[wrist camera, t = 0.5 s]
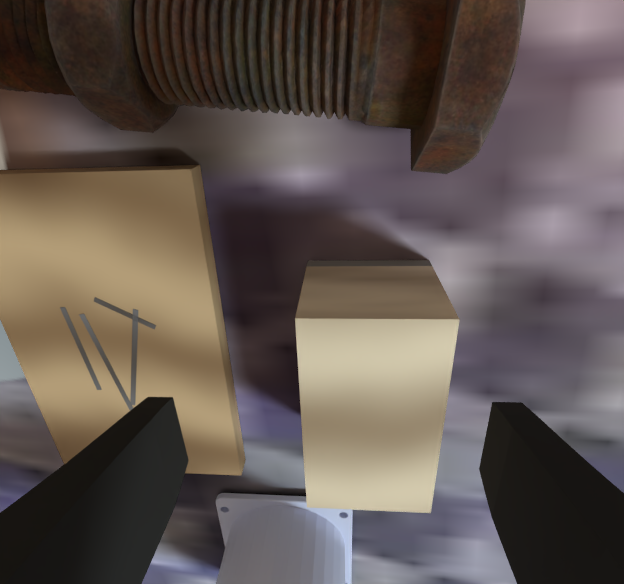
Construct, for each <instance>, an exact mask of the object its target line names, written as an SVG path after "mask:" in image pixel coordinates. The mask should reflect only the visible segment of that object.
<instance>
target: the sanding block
mask: <svg viewBox="0 0 624 584" xmlns="http://www.w3.org/2000/svg"><path fill="white" fill-rule="evenodd" d="M458 325H459V318H458V316H457V314H456V312H455V310H454V308H453V306H452V304H451V302H450V300H449V298H448V296H447V294H446V292H445V290H444V288H443V286H442V284H441V282H440V281H439V279H438V277H437V275H436V273H435V271H434V269H433V267H432V265H431V263H430V261H429V260H325V261H308V262H307V267H306V271H305V276H304V280H303V285H302V289H301V294H300V298H299V303H298V307H297V312H296V316H295V326H296V342H297V358H298V374H299V390H300V405H301V421H302V437H303V453H304V469H305V485H306V501H307V507H308V508H330V509H353V510H375V511H397V512H419V513H431V507H432V500H433V493H434V487H435V480H436V473H437V467H438V460H439V453H440V446H441V440H442V433H443V426H444V420H445V413H446V406H447V399H448V393H449V386H450V379H451V372H452V366H453V359H454V352H455V346H456V339H457V332H458Z"/></svg>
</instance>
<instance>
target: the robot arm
mask: <svg viewBox="0 0 624 584" xmlns="http://www.w3.org/2000/svg"><path fill="white" fill-rule="evenodd" d="M188 461H189V459H188V455H187V451H186V447H185V443H184V439H183V435H182V431H181V427H180V423H179V419H178V415H177V411H176V407H175V403H174V399H173V397H147V398H146V399H144V400H143V401H142V402H140V403H139V404H138V405H137V406H135V407H134V408H133V409H132V410H130V411H129V412H128V413H127V414H126V415H124V416H123V417H122V418H121V419H119V420H118V421H117V422H116V423H115V424H113V425H112V426H111V427H110V428H109V429H107V430H106V431H105V432H104V433H103V434H101V435H100V436H99V437H98V438H96V439H95V440H94V441H93V442H91V443H90V444H89V445H88V446H87V447H85V448H84V449H83V450H82V451H80V452H79V453H78V454H77V455H75V456H74V457H73V458H72V459H70V460H69V461H68V462H67V463H66V464H64V465H63V466H62V467H61V468H59V469H58V470H57V471H55V472H54V473H53V474H51V475H50V476H49V477H47V478H46V479H45V480H43V481H42V482H41V483H39V484H38V485H37V486H35V487H34V488H33V489H31V490H30V491H29V492H28V493H26V494H25V495H24V496H22V497H21V498H20V499H18V500H17V501H16V502H14V503H13V504H12V505H10V506H9V507H8V508H6V509H5V510H4V511H2V512H1V513H0V584H141V583H142V581H143V579H144V577H145V574H146V572H147V570H148V567H149V565H150V563H151V560H152V558H153V556H154V554H155V551H156V549H157V547H158V544H159V542H160V540H161V537H162V535H163V533H164V530H165V528H166V526H167V523H168V521H169V519H170V516H171V514H172V512H173V509H174V507H175V504H176V501H177V498H178V495H179V492H180V489H181V485H182V482H183V478H184V475H185V472H186V468H187V465H188ZM479 470H480V474H481V478H482V482H483V486H484V490H485V494H486V497H487V501H488V505H489V508H490V512H491V516H492V519H493V521H494V524H495V527H496V530H497V532H498V535H499V537H500V540H501V543H502V545H503V548H504V551H505V553H506V556H507V559H508V561H509V564H510V566H511V569H512V571H513V574H514V577H515V579H516V582H517V584H624V493H623V492H622V491H620V490H619V489H618V488H617V487H616V486H615V485H613V484H612V483H611V482H610V481H609V480H608V479H606V478H605V477H604V476H603V475H602V474H601V473H600V472H598V471H597V470H596V469H595V468H594V467H593V466H592V465H590V464H589V463H588V462H587V461H586V460H585V459H584V458H583V457H581V456H580V455H579V454H578V453H577V452H576V451H575V450H574V449H573V448H571V447H570V446H569V445H568V444H567V443H566V442H565V441H564V440H563V439H561V438H560V437H559V436H558V435H557V434H556V433H555V432H554V431H553V430H552V429H551V428H549V427H548V426H547V425H546V424H545V423H544V422H543V421H542V420H541V419H540V418H538V417H537V416H536V415H535V414H534V413H533V412H532V411H531V410H530V409H528V408H527V407H526V406H525V405H524V404H523V403H516V402H492V407H491V412H490V417H489V422H488V427H487V432H486V438H485V443H484V448H483V453H482V458H481V463H480V468H479ZM216 507H217V512H218V517H219V521H220V526H221V531H222V535H223V540H224V545H225V551H224V555H223V559H222V563H221V567H220V570H219V574H218V578H217V582H216V584H351V570H352V509H330V508H308V507H307V501H306V496H286V495H263V494H240V493H221V494H218V496H217V498H216Z"/></svg>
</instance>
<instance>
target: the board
mask: <svg viewBox="0 0 624 584" xmlns="http://www.w3.org/2000/svg"><path fill="white" fill-rule="evenodd" d="M0 320H1V322H2V324H3V327H4V329H5V331H6V333H7V335H8V338H9V340H10V342H11V345H12V347H13V349H14V352H15V354H16V356H17V358H18V361H19V363H20V365H21V367H22V369H23V372H24V374H25V376H26V379H27V381H28V383H29V386H30V388H31V390H32V392H33V395H34V397H35V399H36V401H37V404H38V406H39V408H40V410H41V413H42V415H43V417H44V419H45V422H46V424H47V426H48V429H49V431H50V433H51V435H52V438H53V440H54V442H55V444H56V447H57V449H58V451H59V453H60V456H61V458H62V460H63V463H64V464H66V463H67V462H68V461H69V460H70V459H72V458H73V457H74V456H75V455H77V454H78V453H79V452H80V451H82V450H83V449H84V448H85V447H87V446H88V445H89V444H90V443H91V442H93V441H94V440H95V439H96V438H98V437H99V436H100V435H101V434H103V433H104V432H105V431H106V430H107V429H109V428H110V427H111V426H112V425H113V424H115V423H116V422H117V421H118V420H119V419H121V418H122V417H123V416H124V415H126V414H127V413H128V412H129V411H130V410H132V409H133V408H134V407H135V406H137V405H138V404H139V403H140V402H142V401H143V400H144V399H146V398H147V397H173V399H174V403H175V407H176V411H177V415H178V419H179V423H180V427H181V431H182V435H183V439H184V443H185V447H186V451H187V455H188V459H189V461H188V465H187V468H186V472H185V473H192V474H217V475H242V471H243V468H244V464H245V454H244V447H243V441H242V434H241V428H240V421H239V415H238V408H237V402H236V395H235V389H234V382H233V376H232V369H231V363H230V357H229V350H228V344H227V337H226V331H225V324H224V318H223V311H222V305H221V298H220V292H219V285H218V279H217V272H216V266H215V259H214V253H213V246H212V240H211V233H210V227H209V220H208V214H207V207H206V201H205V194H204V188H203V181H202V175H201V169H200V165H177V166H138V167H99V168H61V169H22V170H0Z"/></svg>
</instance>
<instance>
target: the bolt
mask: <svg viewBox="0 0 624 584" xmlns="http://www.w3.org/2000/svg"><path fill="white" fill-rule="evenodd" d="M524 9H525V0H0V89H5V90H14V91H25V92H26V91H34V92H41V93H42V92H43V93H53V94H66V95H74V96H76V97H77V98H78V99H79V100H80V102H81V103H82V104H83V105H84V106H85V107H86V108H88V109H89V110H90V111H92V112H93V113H94V114H96V115H97V116H98V117H100V118H101V119H103V120H104V121H106V122H108V123H110V124H112V125H113V126H115V127H117V128H119V129H121V130H130V131H141V132H152V133H153V132H155V131H156V130H157V129H158V128H160V127H161V126H162V125H164V124H165V123H166V122H167V121H168V120H169V119H170V118H171V117H172V116H173V115H174V113H175V112H176V110H177V108H178V106H179V105H184V104H185V105H187V106H194V105H196V106H197V107H204V106H207V107H209V108H215V107H216V106H217V107H218V108H220V109H224V108H227V107H228V108H229V109H230V110H234V109H236V108H239V109H240V110H241V111H244V110H246V109H249V110H250V111H251V112H255V111H257V110H258V109H260V110H261V111H262V113H267V112H268V110H269V109H270V110H271V111H272V112H274V113H278V112H279V110H280V109H281V110H282V112H283V113H284V114H289V112H290V111H291V110H292V111H293V113H294V115H299V114H300V113H301V111H303V113H304V115H305V116H310V115H311V113H312V111H313V113H314V114H315V116H316V117H321V115H322V113H323V111H324V113H325V115H326V117H327V118H328V119H330V118H331V117H332V116H333V114H334V112H335V114H336V116H337V118H338V119H342V118H343V116H344V115H345V114H346V115H347V117H348V118H349V120H354V121H361V122H363V123H364V124H365V125H374V126H385V127H396V128H407V129H411V170H412V171H420V172H432V173H443V174H447V173H450V172H452V171H454V170H456V169H459V168H461V167H462V166H464V165H466V164H467V163H469V162H470V161H471V160H472V159H474V158H475V157H476V156H477V154H478V153H479V151H480V149H481V147H482V145H483V143H484V141H485V139H486V137H487V135H488V133H489V131H490V129H491V127H492V125H493V123H494V121H495V118H496V116H497V113H498V111H499V108H500V106H501V103H502V101H503V98H504V96H505V93H506V91H507V88H508V85H509V83H510V80H511V77H512V73H513V70H514V67H515V63H516V58H517V53H518V47H519V41H520V35H521V28H522V22H523V15H524Z"/></svg>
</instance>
